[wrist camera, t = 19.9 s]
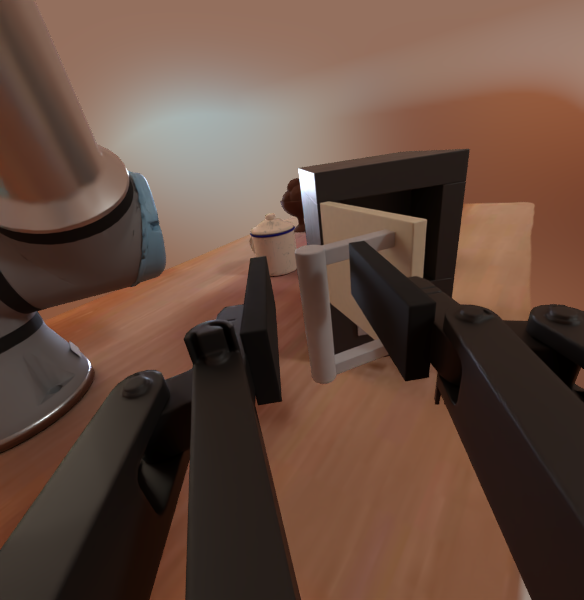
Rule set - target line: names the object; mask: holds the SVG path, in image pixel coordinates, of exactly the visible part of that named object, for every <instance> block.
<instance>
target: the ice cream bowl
mask: <svg viewBox="0 0 584 600" xmlns="http://www.w3.org/2000/svg"><path fill="white" fill-rule="evenodd" d="M281 205H282V207H283V209H284V210H285V211H286V212H287V213H288V214H290V215H292V216H295V217H297V218H298V221H299V225H298V226H297V227H296V228H295V229H294V232H304V231H306V230H305V224H304V213H303V205H302V196H301V188H300V179H298V178H296V179H293V180H291V181H290V182H289V184H288V186H287V192H285V194H284V195H283V198H282V201H281Z"/></svg>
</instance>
